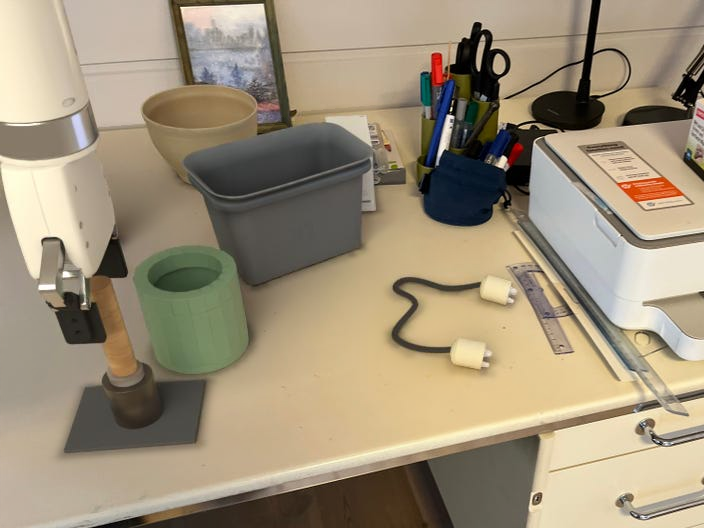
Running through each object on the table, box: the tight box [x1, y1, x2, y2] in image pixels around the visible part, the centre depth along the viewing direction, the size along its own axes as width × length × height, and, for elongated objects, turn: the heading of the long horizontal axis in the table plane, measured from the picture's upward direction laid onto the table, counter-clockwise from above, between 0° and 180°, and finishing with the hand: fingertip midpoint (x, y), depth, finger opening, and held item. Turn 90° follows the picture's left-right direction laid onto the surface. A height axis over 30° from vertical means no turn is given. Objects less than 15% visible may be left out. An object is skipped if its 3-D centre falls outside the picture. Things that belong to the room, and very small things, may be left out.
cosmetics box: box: [324, 114, 377, 212], centre depth 110 cm, size 10×6×10 cm, turn 11°
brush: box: [90, 276, 163, 429], centre depth 71 cm, size 5×5×16 cm
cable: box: [391, 274, 518, 370], centre depth 90 cm, size 16×16×4 cm
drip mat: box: [63, 379, 206, 454], centre depth 76 cm, size 12×9×1 cm
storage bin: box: [181, 121, 375, 286], centre depth 96 cm, size 21×16×14 cm
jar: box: [132, 244, 250, 375], centre depth 82 cm, size 10×10×10 cm
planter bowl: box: [140, 84, 259, 185], centre depth 113 cm, size 16×16×11 cm
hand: (99, 307), depth 68 cm, fingers open, 9 cm apart
